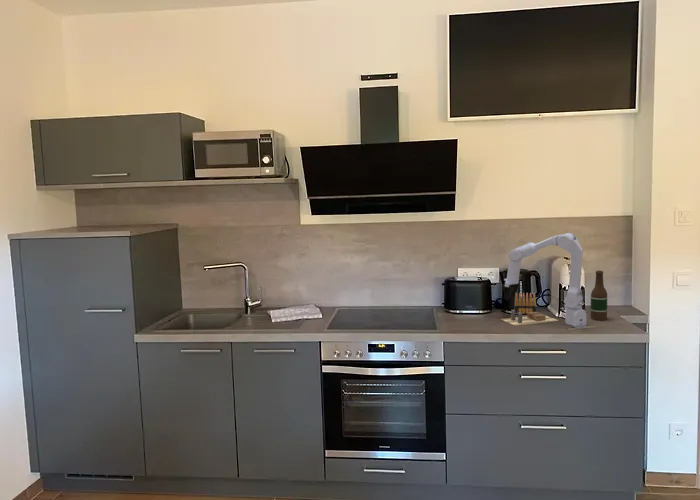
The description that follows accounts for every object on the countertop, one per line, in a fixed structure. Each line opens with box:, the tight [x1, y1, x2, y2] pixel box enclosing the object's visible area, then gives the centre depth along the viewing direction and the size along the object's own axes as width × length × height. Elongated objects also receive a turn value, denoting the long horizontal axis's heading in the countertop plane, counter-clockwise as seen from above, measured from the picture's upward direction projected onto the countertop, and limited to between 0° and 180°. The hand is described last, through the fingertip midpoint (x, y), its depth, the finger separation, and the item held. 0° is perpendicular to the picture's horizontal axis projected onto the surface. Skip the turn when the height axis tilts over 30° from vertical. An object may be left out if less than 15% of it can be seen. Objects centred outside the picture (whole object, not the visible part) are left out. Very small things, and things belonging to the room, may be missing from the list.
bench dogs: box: [510, 308, 523, 323], centre depth 287 cm, size 8×2×6 cm, turn 16°
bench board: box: [500, 315, 559, 326], centre depth 289 cm, size 14×24×1 cm, turn 106°
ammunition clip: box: [514, 292, 537, 314], centre depth 303 cm, size 11×2×12 cm, turn 78°
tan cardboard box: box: [526, 311, 547, 321], centre depth 290 cm, size 8×5×2 cm, turn 16°
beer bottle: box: [590, 270, 608, 322], centre depth 289 cm, size 8×8×24 cm
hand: (509, 298), depth 296 cm, fingers open, 7 cm apart
